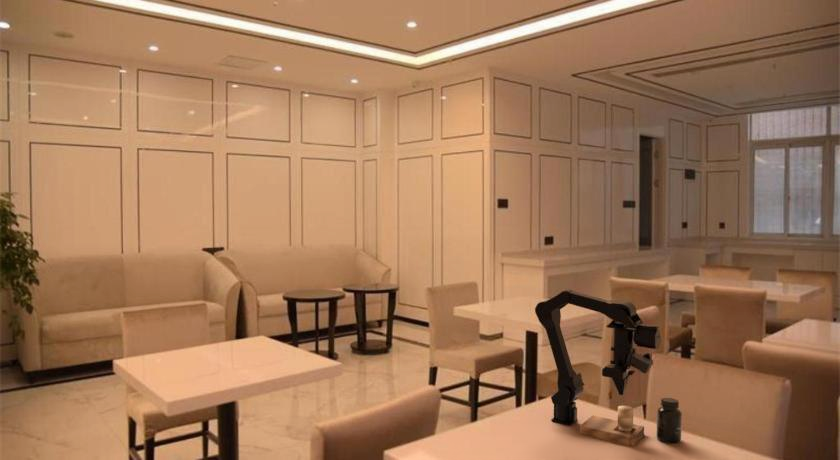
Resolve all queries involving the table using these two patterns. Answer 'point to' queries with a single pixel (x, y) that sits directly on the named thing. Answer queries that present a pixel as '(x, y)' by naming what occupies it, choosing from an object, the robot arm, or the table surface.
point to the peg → (625, 419)
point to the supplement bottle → (669, 421)
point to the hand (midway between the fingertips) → (621, 394)
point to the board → (610, 430)
